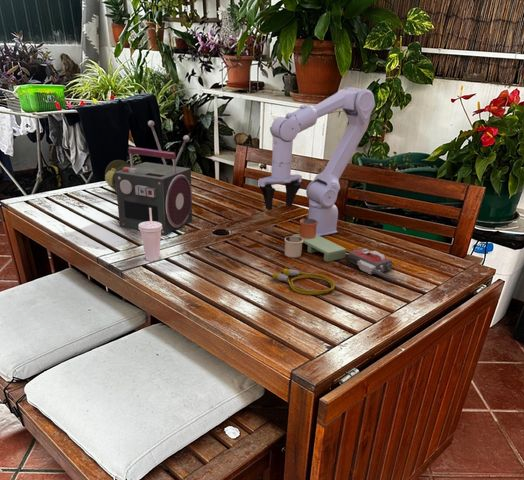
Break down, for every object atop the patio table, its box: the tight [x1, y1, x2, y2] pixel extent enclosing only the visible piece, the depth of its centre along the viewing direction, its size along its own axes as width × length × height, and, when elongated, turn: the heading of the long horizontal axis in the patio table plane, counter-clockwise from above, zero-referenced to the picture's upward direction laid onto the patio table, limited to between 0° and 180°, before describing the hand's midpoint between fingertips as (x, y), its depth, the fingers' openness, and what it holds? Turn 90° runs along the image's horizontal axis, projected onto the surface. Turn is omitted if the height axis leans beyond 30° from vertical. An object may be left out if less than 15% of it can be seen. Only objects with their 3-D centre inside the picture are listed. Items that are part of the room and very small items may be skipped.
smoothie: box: [138, 208, 162, 262], centre depth 141 cm, size 6×6×14 cm
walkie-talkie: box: [344, 247, 397, 282], centre depth 143 cm, size 9×4×20 cm
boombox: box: [114, 120, 193, 236], centre depth 163 cm, size 18×21×30 cm
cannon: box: [104, 159, 131, 192], centre depth 199 cm, size 25×12×11 cm, turn 119°
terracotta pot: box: [298, 218, 318, 239], centre depth 157 cm, size 6×6×5 cm
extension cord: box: [272, 267, 336, 296], centre depth 134 cm, size 12×16×2 cm
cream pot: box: [283, 235, 304, 258], centre depth 151 cm, size 6×6×5 cm
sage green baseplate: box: [292, 233, 347, 263], centre depth 155 cm, size 7×17×3 cm, turn 34°
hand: (278, 207), depth 159 cm, fingers open, 7 cm apart
